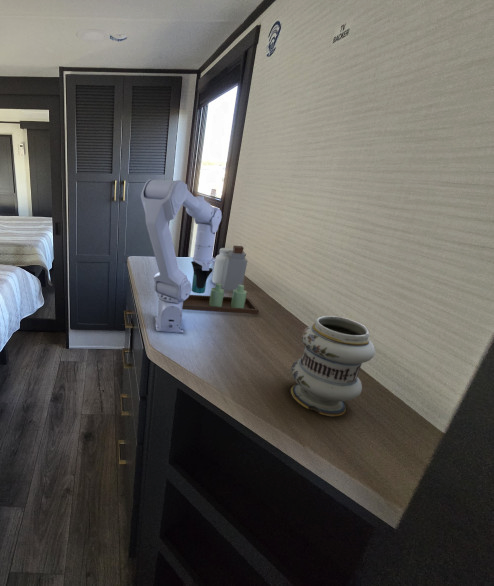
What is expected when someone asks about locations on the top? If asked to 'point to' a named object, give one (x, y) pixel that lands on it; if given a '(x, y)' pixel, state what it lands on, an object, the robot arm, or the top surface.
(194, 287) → the teal bottle
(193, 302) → the tray
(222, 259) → the pill bottle
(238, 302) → the green bottle far
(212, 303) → the green bottle middle
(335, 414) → the apothecary jar
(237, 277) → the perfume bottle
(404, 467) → the top surface
